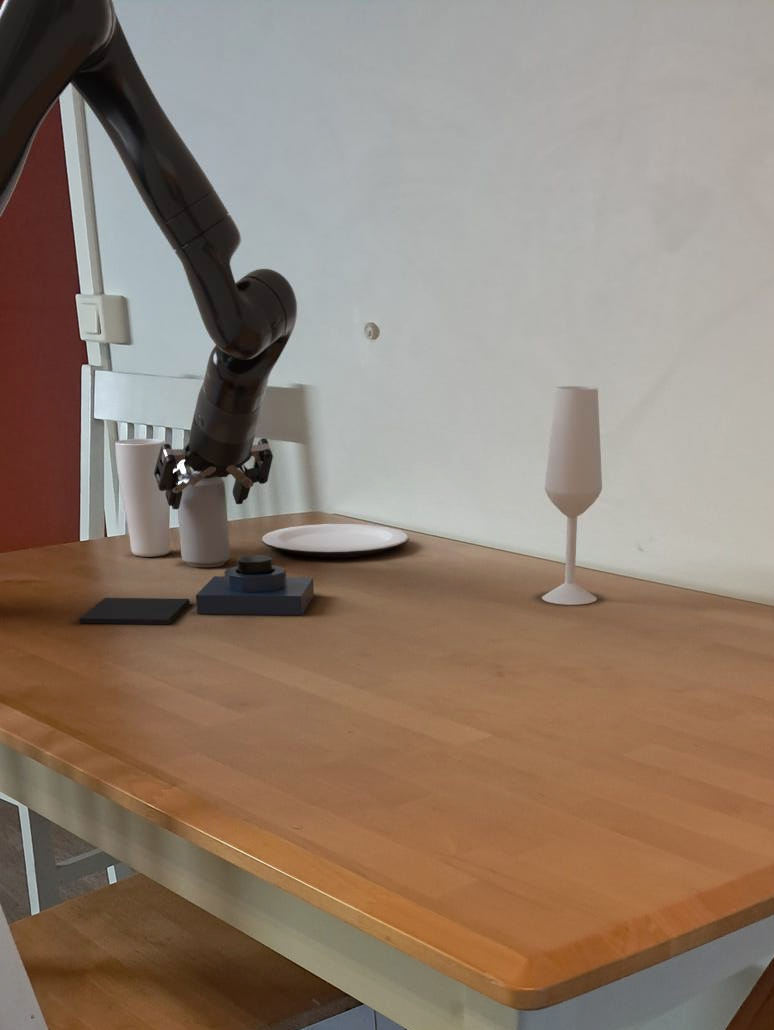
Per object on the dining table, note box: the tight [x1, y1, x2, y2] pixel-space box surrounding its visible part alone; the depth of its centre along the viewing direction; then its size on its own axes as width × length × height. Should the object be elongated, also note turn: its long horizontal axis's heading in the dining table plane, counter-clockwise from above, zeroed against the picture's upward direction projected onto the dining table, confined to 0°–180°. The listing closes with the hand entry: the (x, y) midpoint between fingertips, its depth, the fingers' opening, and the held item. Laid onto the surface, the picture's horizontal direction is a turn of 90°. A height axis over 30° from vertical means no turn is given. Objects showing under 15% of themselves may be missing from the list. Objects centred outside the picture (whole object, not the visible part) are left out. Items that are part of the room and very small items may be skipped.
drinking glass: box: [114, 438, 171, 558], centre depth 174 cm, size 7×7×15 cm
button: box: [236, 555, 273, 575], centre depth 148 cm, size 4×4×2 cm
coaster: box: [78, 597, 190, 625], centre depth 146 cm, size 10×10×1 cm
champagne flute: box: [541, 385, 603, 606], centre depth 149 cm, size 7×7×24 cm
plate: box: [261, 523, 410, 559], centre depth 181 cm, size 21×21×2 cm
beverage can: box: [176, 469, 231, 568], centre depth 169 cm, size 6×6×12 cm
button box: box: [195, 564, 315, 616], centre depth 149 cm, size 12×10×4 cm
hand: (205, 501), depth 166 cm, fingers open, 8 cm apart
